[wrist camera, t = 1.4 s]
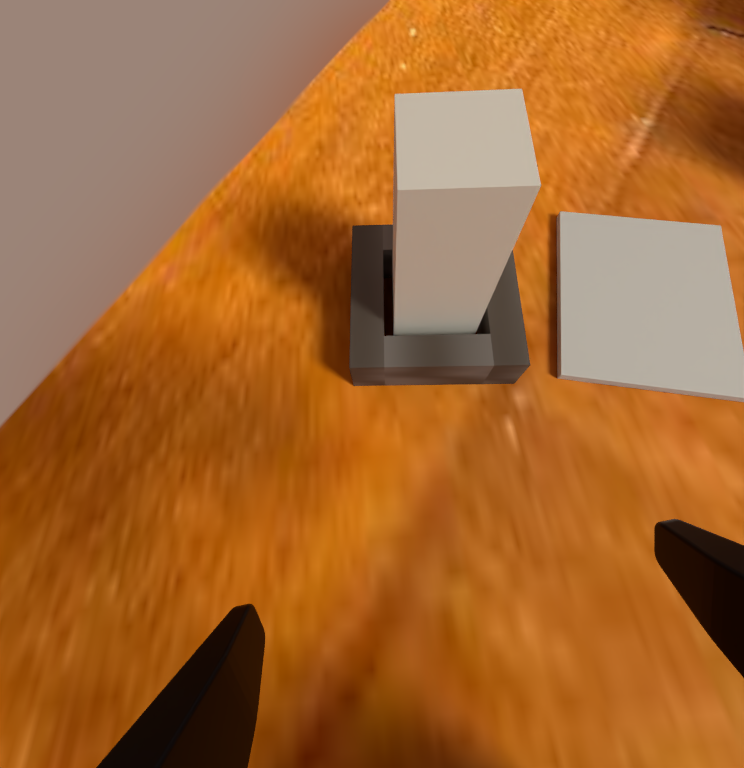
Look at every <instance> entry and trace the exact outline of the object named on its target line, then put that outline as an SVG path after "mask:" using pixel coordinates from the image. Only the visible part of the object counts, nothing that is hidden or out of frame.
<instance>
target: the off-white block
mask: <svg viewBox="0 0 744 768" xmlns="http://www.w3.org/2000/svg"><path fill="white" fill-rule="evenodd" d="M540 187H541V183H540V178H539V173H538V168H537V163H536V158H535V153H534V148H533V143H532V137H531V132H530V127H529V122H528V117H527V112H526V107H525V102H524V97H523V92H522V89H506V90H482V91H458V92H434V93H410V94H395V112H394V186H393V259H392V302H393V336H405V335H459V334H475V333H476V331H477V329H478V326H479V324H480V322H481V320H482V317H483V315H484V313H485V311H486V308H487V306H488V304H489V302H490V299H491V297H492V295H493V293H494V290H495V288H496V286H497V284H498V281H499V279H500V277H501V275H502V272H503V270H504V268H505V266H506V263H507V261H508V259H509V256H510V254H511V252H512V250H513V247H514V245H515V243H516V241H517V238H518V236H519V234H520V232H521V229H522V227H523V225H524V223H525V220H526V218H527V216H528V214H529V211H530V209H531V207H532V205H533V202H534V200H535V198H536V196H537V193H538V191H539V189H540Z"/></svg>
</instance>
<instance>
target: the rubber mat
mask: <svg viewBox="0 0 744 768" xmlns="http://www.w3.org/2000/svg"><path fill="white" fill-rule="evenodd" d="M557 378H559V379H567V380H575V381H582V382H590V383H598V384H606V385H614V386H622V387H629V388H637V389H645V390H653V391H661V392H668V393H676V394H684V395H692V396H700V397H708V398H715V399H723V400H731V401H739V402H744V352H743V346H742V340H741V335H740V329H739V324H738V318H737V313H736V307H735V302H734V296H733V291H732V285H731V280H730V274H729V269H728V263H727V258H726V252H725V247H724V241H723V236H722V230H721V226H718V225H706V224H695V223H684V222H673V221H662V220H651V219H639V218H628V217H617V216H606V215H595V214H584V213H572V212H561V211H560V213H559V214H558V216H557Z"/></svg>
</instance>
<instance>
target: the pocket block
mask: <svg viewBox="0 0 744 768" xmlns="http://www.w3.org/2000/svg"><path fill="white" fill-rule="evenodd" d="M392 259H393V225H362V226H353V229H352V274H351V320H350V365H349V368H350V372H351V376H352V380H353V384H354V386H371V385H443V384H514V383H515V382H516V381H517V380H518V378H519V377H520V376H521V375H522V374H523V373H524V372H525V370H526V369H527V368H528V367H529V366H530V361H529V354H528V348H527V341H526V335H525V328H524V321H523V315H522V308H521V302H520V295H519V288H518V282H517V275H516V269H515V262H514V256H513V250H512V252H511V254H510V256H509V259H508V261H507V263H506V266H505V268H504V270H503V272H502V275H501V277H500V279H499V281H498V284H497V286H496V288H495V290H494V293H493V295H492V297H491V299H490V302H489V304H488V306H487V308H486V311H485V313H484V315H483V317H482V320H481V322H480V324H479V326H478V329H477V334H459V335H405V336H384V278H391V277H392Z"/></svg>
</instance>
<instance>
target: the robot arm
mask: <svg viewBox="0 0 744 768" xmlns="http://www.w3.org/2000/svg"><path fill="white" fill-rule="evenodd" d="M655 557H656V559H657V561H658V563H659V565H660V567H661V568H662V569H663V571H664V572H665V574H666V575H667V577H668V578H669V579H670V581H671V582H672V584H673V585H674V587H675V588H676V589H677V591H678V592H679V594H680V595H681V597H682V598H683V599H684V601H685V602H686V604H687V605H688V607H689V608H690V610H691V611H692V612H693V614H694V615H695V617H696V618H697V620H698V621H699V622H700V624H701V625H702V627H703V628H704V629H705V631H706V632H707V633H708V635H709V636H710V637H711V639H712V640H713V641H714V642H715V644H716V645H717V646H718V647H719V649H720V650H721V651H722V652H723V653H724V655H725V656H726V657H727V658H728V659H729V661H730V662H731V663H732V664H733V665H734V667H735V668H736V669H737V670H738V672H739V673H740V674H741V675H742V676H743V678H744V545H741V544H739V543H736V542H734V541H731V540H729V539H726V538H724V537H721V536H719V535H716V534H714V533H711V532H709V531H706V530H704V529H701V528H699V527H696V526H694V525H691V524H689V523H686V522H684V521H681V520H678V519H672V520H667V521H662V522H658V523H657V524H656V525H655ZM264 647H265V632H264V628H263V626H262V623H261V621H260V619H259V616H258V614H257V612H256V609H255V607H254V606H253V605H252V604H246V605H241V606H236V607H234V608H233V609H232V610H231V611H230V612H229V613H228V614H227V615H226V617H225V618H224V619H223V620H222V621H221V622H220V624H219V625H218V626H217V627H216V628H215V629H214V631H213V632H212V633H211V634H210V635H209V636H208V638H207V639H206V640H205V641H204V642H203V643H202V645H201V646H200V647H199V648H198V649H197V650H196V652H195V653H194V654H193V655H192V656H191V657H190V659H189V660H188V661H187V662H186V663H185V664H184V666H183V667H182V668H181V669H180V670H179V672H178V673H177V674H176V675H175V676H174V677H173V679H172V680H171V681H170V682H169V683H168V684H167V686H166V687H165V688H164V689H163V690H162V691H161V693H160V694H159V695H158V696H157V697H156V698H155V700H154V701H153V702H152V703H151V704H150V705H149V707H148V708H147V709H146V710H145V711H144V712H143V714H142V715H141V716H140V717H139V718H138V719H137V721H136V722H135V723H134V724H133V725H132V726H131V728H130V729H129V730H128V731H127V732H126V733H125V735H124V736H123V737H122V738H121V739H120V741H119V742H118V743H117V744H116V745H115V746H114V748H113V749H112V750H111V751H110V752H109V753H108V755H107V756H106V757H105V758H104V759H103V760H102V762H101V763H100V764H99V765H98V766H97V767H96V768H247V767H248V762H249V757H250V752H251V747H252V742H253V737H254V731H255V726H256V720H257V712H258V704H259V694H260V685H261V675H262V666H263V656H264Z"/></svg>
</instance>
